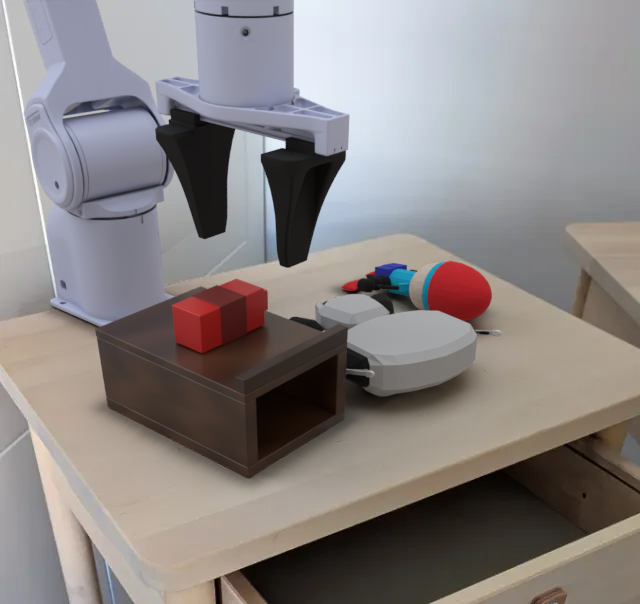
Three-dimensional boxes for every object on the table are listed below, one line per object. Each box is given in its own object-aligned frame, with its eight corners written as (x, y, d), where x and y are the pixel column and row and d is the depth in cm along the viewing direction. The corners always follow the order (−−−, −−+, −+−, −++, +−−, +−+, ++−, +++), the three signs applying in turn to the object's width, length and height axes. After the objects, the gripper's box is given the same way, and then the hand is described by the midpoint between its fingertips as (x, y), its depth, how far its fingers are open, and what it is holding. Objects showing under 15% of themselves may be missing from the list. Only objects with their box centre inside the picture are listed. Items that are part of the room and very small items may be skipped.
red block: (174, 342, 56) (170, 303, 55) (247, 310, 60) (245, 272, 59) (203, 355, 55) (200, 315, 53) (275, 321, 59) (274, 283, 57)
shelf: (107, 406, 62) (92, 314, 57) (206, 359, 68) (199, 272, 63) (248, 478, 55) (244, 380, 50) (344, 419, 61) (348, 326, 56)
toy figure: (335, 308, 79) (456, 337, 69) (334, 252, 77) (459, 274, 67) (393, 295, 83) (516, 320, 73) (394, 242, 81) (521, 260, 71)
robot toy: (262, 360, 69) (376, 428, 59) (258, 305, 67) (377, 367, 57) (380, 326, 75) (502, 382, 65) (381, 274, 72) (509, 324, 62)
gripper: (386, 18, 48) (372, 259, 57) (206, -9, 55) (218, 210, 64) (304, 32, 44) (302, 290, 52) (120, 1, 51) (145, 233, 59)
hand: (251, 248), depth 58 cm, fingers open, 7 cm apart
